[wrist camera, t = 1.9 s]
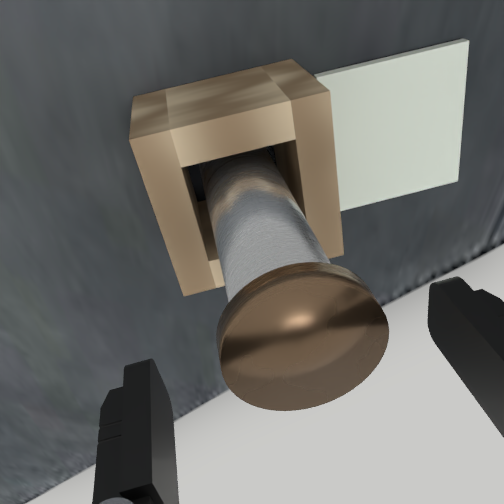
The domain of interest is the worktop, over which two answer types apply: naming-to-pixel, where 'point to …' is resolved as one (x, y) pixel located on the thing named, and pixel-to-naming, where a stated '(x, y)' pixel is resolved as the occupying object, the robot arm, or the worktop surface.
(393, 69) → the sage mat
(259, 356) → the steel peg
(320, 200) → the oak eye block
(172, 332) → the worktop surface
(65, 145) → the worktop surface
